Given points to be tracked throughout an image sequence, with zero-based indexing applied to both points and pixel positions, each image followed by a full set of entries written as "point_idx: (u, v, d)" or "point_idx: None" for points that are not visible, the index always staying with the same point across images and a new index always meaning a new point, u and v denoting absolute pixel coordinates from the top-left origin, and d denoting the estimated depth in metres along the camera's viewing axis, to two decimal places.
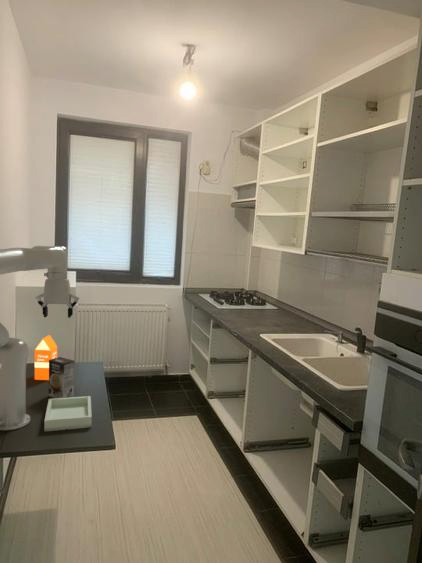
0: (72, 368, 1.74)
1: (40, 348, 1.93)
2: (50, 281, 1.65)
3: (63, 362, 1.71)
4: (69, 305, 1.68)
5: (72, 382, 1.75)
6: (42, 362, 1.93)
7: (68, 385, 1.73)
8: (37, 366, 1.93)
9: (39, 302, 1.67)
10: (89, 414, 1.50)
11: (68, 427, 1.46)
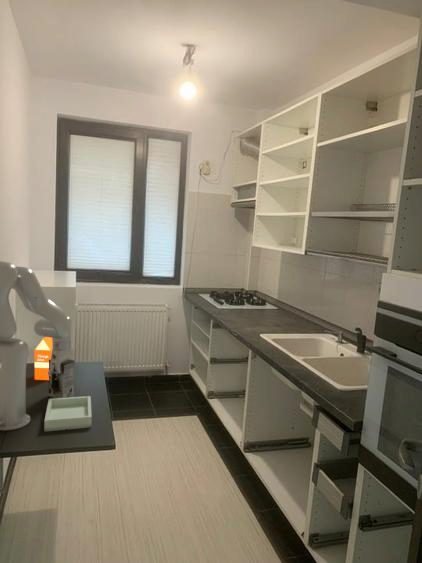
0: (72, 368, 1.74)
1: (40, 348, 1.93)
2: (63, 351, 1.71)
3: None
4: None
5: (72, 382, 1.75)
6: (42, 362, 1.93)
7: (68, 385, 1.73)
8: (37, 366, 1.93)
9: (53, 376, 1.69)
10: (89, 414, 1.50)
11: (68, 427, 1.46)
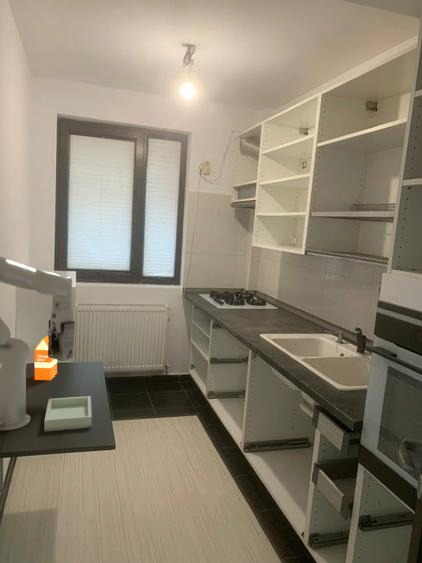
0: (72, 329, 1.72)
1: (40, 348, 1.93)
2: (63, 310, 1.69)
3: (63, 322, 1.69)
4: None
5: (72, 343, 1.73)
6: (42, 362, 1.93)
7: (68, 346, 1.71)
8: (37, 366, 1.93)
9: (53, 335, 1.66)
10: (89, 414, 1.50)
11: (68, 427, 1.46)
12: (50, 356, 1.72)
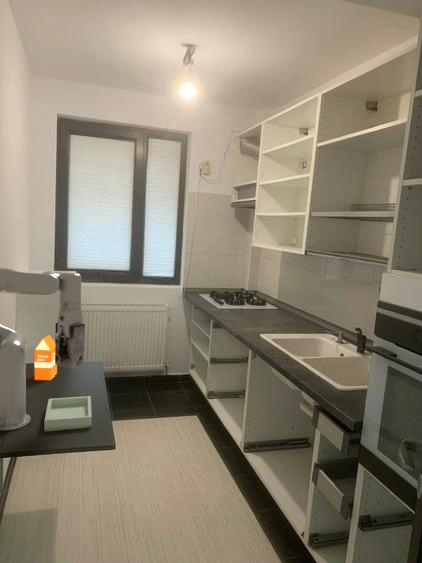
0: (82, 333, 1.52)
1: (40, 348, 1.93)
2: (72, 312, 1.49)
3: (72, 325, 1.50)
4: None
5: (82, 349, 1.54)
6: (42, 362, 1.93)
7: (78, 352, 1.52)
8: (37, 366, 1.93)
9: (61, 340, 1.47)
10: (89, 414, 1.50)
11: (68, 427, 1.46)
12: (58, 363, 1.53)
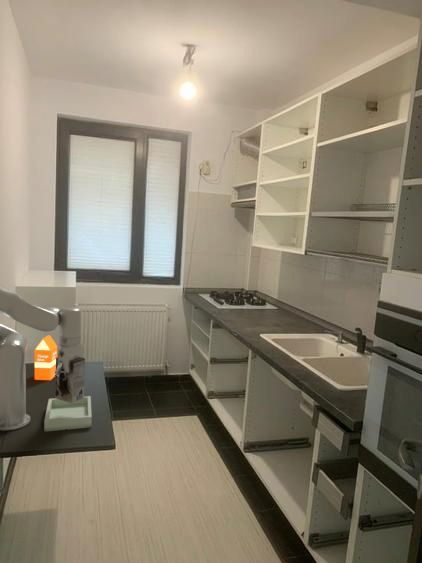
0: (82, 367, 1.53)
1: (40, 348, 1.93)
2: (72, 347, 1.50)
3: (72, 360, 1.50)
4: None
5: (83, 383, 1.54)
6: (42, 362, 1.93)
7: (78, 386, 1.52)
8: (37, 366, 1.93)
9: (61, 375, 1.48)
10: (89, 414, 1.50)
11: (68, 427, 1.46)
12: (58, 397, 1.53)
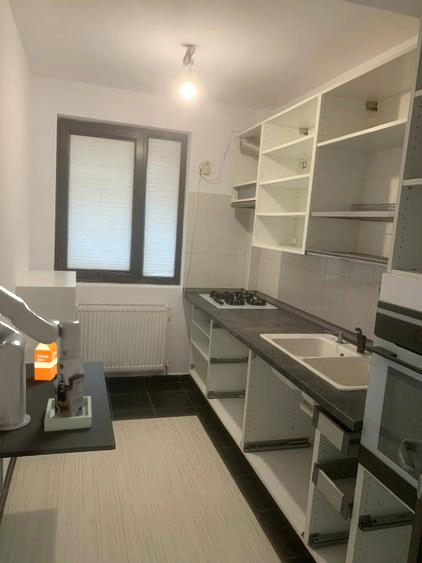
0: (81, 383, 1.54)
1: (40, 348, 1.93)
2: (72, 360, 1.51)
3: None
4: None
5: (82, 399, 1.55)
6: (42, 362, 1.93)
7: (77, 403, 1.53)
8: (37, 366, 1.93)
9: (59, 387, 1.47)
10: (89, 414, 1.50)
11: (68, 427, 1.46)
12: (57, 414, 1.54)
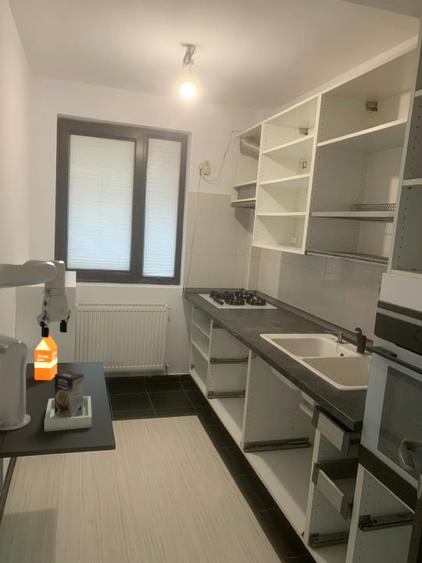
0: (81, 384, 1.54)
1: (40, 348, 1.93)
2: (55, 298, 1.57)
3: (71, 377, 1.51)
4: (66, 320, 1.65)
5: (82, 399, 1.55)
6: (42, 362, 1.93)
7: (77, 403, 1.53)
8: (37, 366, 1.93)
9: (42, 322, 1.54)
10: (89, 414, 1.50)
11: (68, 427, 1.46)
12: (57, 414, 1.54)
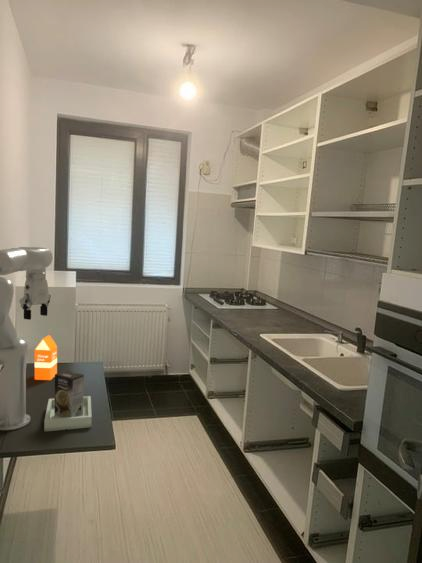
0: (81, 384, 1.54)
1: (40, 348, 1.93)
2: (37, 282, 1.67)
3: (71, 377, 1.51)
4: (46, 303, 1.75)
5: (82, 399, 1.55)
6: (42, 362, 1.93)
7: (77, 403, 1.53)
8: (37, 366, 1.93)
9: (25, 305, 1.64)
10: (89, 414, 1.50)
11: (68, 427, 1.46)
12: (57, 414, 1.54)
